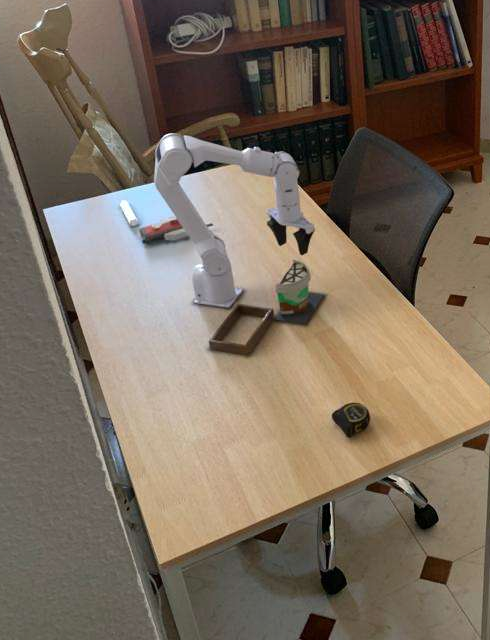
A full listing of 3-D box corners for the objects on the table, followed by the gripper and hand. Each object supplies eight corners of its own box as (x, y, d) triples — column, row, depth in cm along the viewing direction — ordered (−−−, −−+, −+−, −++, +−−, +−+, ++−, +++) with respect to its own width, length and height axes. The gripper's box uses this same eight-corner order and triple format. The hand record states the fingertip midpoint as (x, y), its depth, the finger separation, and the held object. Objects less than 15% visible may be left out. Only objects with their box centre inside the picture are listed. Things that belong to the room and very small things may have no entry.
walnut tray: (210, 349, 184) (208, 341, 182) (239, 311, 196) (237, 303, 195) (247, 355, 182) (246, 346, 180) (274, 316, 195) (273, 308, 193)
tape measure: (331, 422, 163) (329, 409, 162) (360, 410, 167) (359, 396, 165) (346, 442, 159) (345, 429, 157) (376, 429, 162) (375, 415, 160)
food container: (303, 322, 192) (299, 288, 187) (279, 319, 193) (274, 285, 188) (320, 294, 202) (317, 261, 197) (297, 291, 203) (293, 258, 198)
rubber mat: (274, 320, 193) (274, 319, 193) (294, 291, 204) (294, 290, 204) (305, 325, 192) (305, 324, 192) (324, 295, 203) (324, 294, 203)
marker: (124, 205, 244) (136, 226, 233) (117, 203, 243) (128, 225, 231) (126, 197, 244) (139, 219, 232) (120, 196, 242) (131, 217, 231)
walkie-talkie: (146, 250, 220) (215, 230, 230) (143, 236, 218) (212, 216, 228) (136, 237, 226) (203, 217, 236) (133, 223, 224) (201, 204, 234)
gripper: (320, 203, 194) (324, 251, 201) (279, 187, 201) (284, 233, 208) (300, 214, 189) (305, 262, 196) (258, 197, 196) (264, 244, 204)
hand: (293, 248), depth 202 cm, fingers open, 7 cm apart
